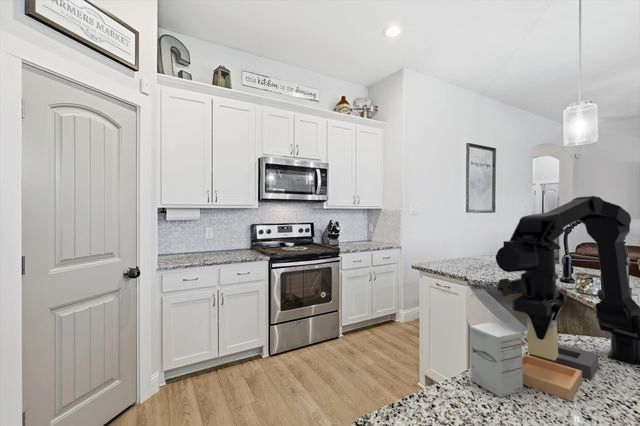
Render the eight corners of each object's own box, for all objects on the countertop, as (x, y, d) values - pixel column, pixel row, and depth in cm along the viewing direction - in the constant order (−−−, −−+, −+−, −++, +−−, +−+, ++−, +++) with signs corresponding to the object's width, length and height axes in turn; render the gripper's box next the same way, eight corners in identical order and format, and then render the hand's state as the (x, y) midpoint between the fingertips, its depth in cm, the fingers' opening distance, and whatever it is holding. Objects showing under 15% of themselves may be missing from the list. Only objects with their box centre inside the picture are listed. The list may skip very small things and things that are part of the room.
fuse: (532, 349, 71) (530, 315, 71) (558, 356, 67) (556, 320, 67) (528, 353, 69) (526, 318, 69) (554, 360, 65) (553, 323, 65)
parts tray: (522, 362, 76) (522, 353, 76) (582, 381, 67) (582, 370, 67) (506, 378, 68) (505, 368, 68) (570, 401, 59) (570, 389, 59)
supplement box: (470, 381, 67) (468, 325, 68) (493, 374, 70) (492, 321, 70) (499, 398, 60) (497, 336, 61) (524, 391, 63) (522, 331, 63)
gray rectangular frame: (540, 350, 83) (540, 339, 83) (598, 366, 74) (598, 353, 74) (529, 361, 76) (528, 349, 77) (591, 379, 67) (590, 366, 67)
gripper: (514, 262, 81) (516, 319, 80) (486, 269, 69) (488, 337, 68) (566, 266, 72) (569, 331, 71) (544, 276, 60) (547, 353, 60)
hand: (542, 337), depth 68 cm, fingers closed on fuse, 3 cm apart
